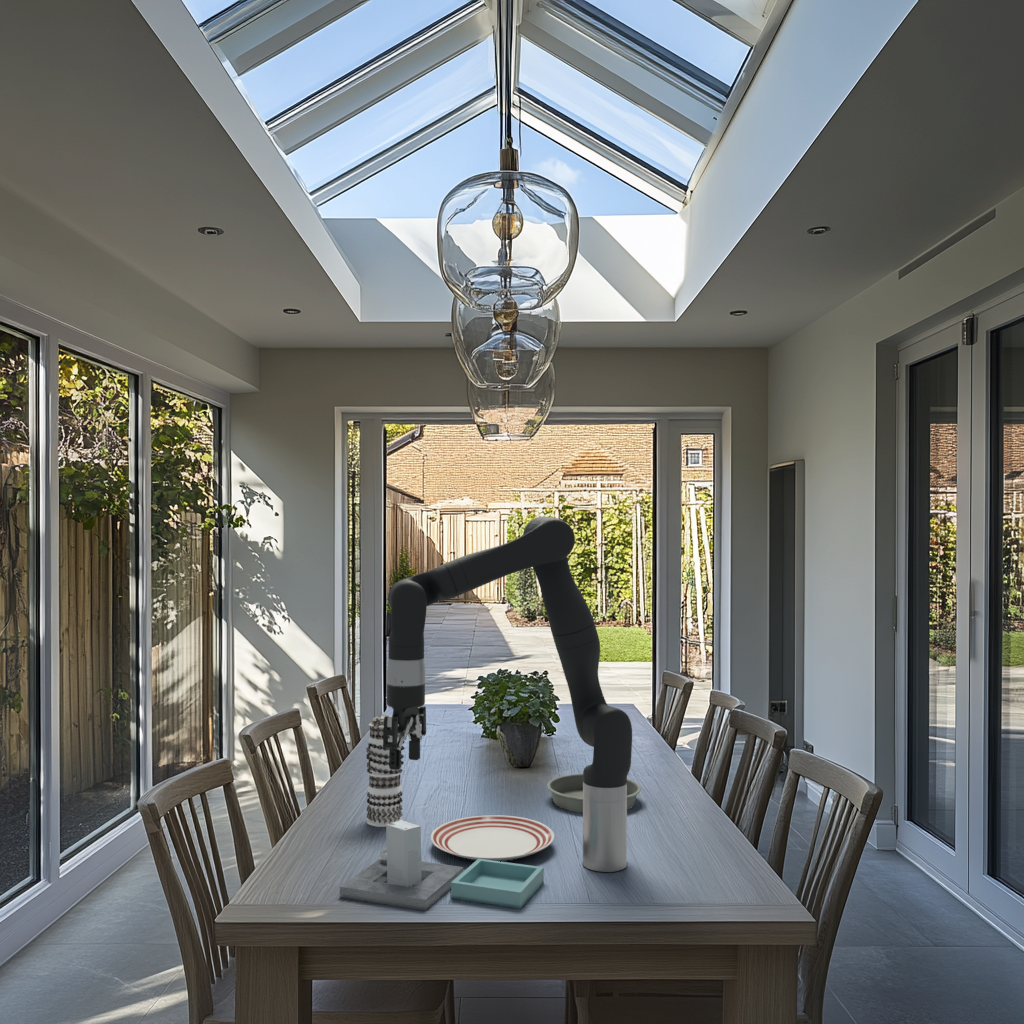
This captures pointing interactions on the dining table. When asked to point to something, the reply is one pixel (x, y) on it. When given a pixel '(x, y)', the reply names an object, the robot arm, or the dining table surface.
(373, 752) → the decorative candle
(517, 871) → the tray
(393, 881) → the skincare box
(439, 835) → the dinner plate
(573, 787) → the cake pan
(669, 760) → the dining table surface
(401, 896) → the socket block
